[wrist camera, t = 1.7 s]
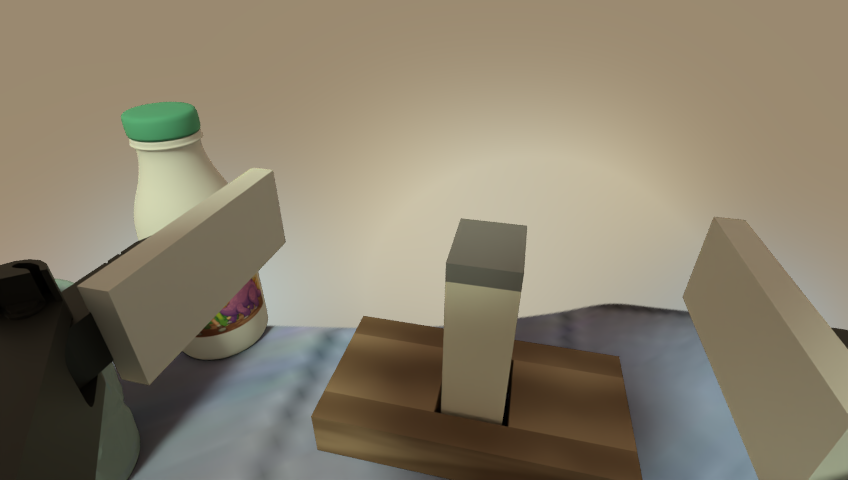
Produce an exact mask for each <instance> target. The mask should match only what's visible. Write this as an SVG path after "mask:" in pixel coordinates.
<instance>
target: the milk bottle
mask: <svg viewBox="0 0 848 480" xmlns="http://www.w3.org/2000/svg"><path fill="white" fill-rule="evenodd" d="M121 120H122V123H123V127H124V130H125V132H126V135H127V136H128V138H129V140H130V146H131V147H133V148H135V149H136V152H137V155H138V161H139V178H138V186H137V192H136V197H135V203H134V222H135V228H136V232H137V237H138V239H139V241H140V240H142V239H144V238H147V237H149V236H152V235H153V234H155V233H156V232H158V231H159V230H161V229H162V228H164V227H165V226H167V225H168V224H169V223H171V222H172V221H174V220H175V219H177V218H178V217H180V216H181V215H183V214H184V213H186V212H187V211H189V210H190V209H192V208H193V207H195V206H196V205H198V204H199V203H201V202H202V201H204V200H205V199H207V198H208V197H209V196H211V195H212V194H214V193H215V192H217V191H218V190H220V189H221V188H223V187H224V186H226V185H227V184H228V183H227V182H226V180H225V179H224V178H223V177H222V176H221V174H220V173H219V172H218V171H217V169H216V168H215V167H214V166H213V164H212V162H211V161H210V159H209V158H208V156H207V154H206V153H205V151H204V149H203V146H202V143H201V138H202V136H203V133H202V132H201V129H200V121H199V117H198V113H197V110H196V109H195V107H194V106H193V105H191V104H188V103H182V102H160V103H152V104H146V105H141V106H137V107H134V108H131V109H129V110H126V111H125V112H124V113H123V114H122V115H121ZM267 322H268V315H267V309H266V305H265V300H264V295H263V291H262V287H261V282H260V278H259V273H258V272H257V273H256V274H255V275H254V276H253V277H252V278H251V279H250V280H249V281H248V282H247V283H246V284H245V285H244V286H243V287H242V289H241V290H240V291H239V292H238V293H237V294H236V295H235V296H234V297H233V298H232V299H231V300H230V301H229V302H228V303H227V304H226V305H225V306H224V307H223V308H222V310H221V311H220V312H219V313H218V314H217V315H216V316H215V317H214V318H213V319H212V320H211V321H210V322H209V323H208V324H207V325H206V326H205V327H204V328H203V329H202V331H201V332H200V333H199V334H198V335H197V336H196V337H195V338H194V339H193V340H192V341H191V342H190V343H189V344H188V345H187V346H186V347H185V348H184V349H183V350H182V351H183V352H184V353H186V354H187V355H189V356H191V357H193V358H197V359H202V360H213V359H221V358H225V357H229V356H232V355H235V354H237V353H239V352H241V351H243V350H245V349H247V348H248V347H250V346H251V345H253V344H254V343H255V342H256V341H257V340H258V339H259V338H260V337H261V335H262V334H263V333H264V330H265V329H266V325H267Z"/></svg>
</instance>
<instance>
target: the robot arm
mask: <svg viewBox="0 0 848 480" xmlns="http://www.w3.org/2000/svg"><path fill="white" fill-rule="evenodd" d="M285 242H286V241H285V236H284V230H283V224H282V219H281V213H280V207H279V201H278V195H277V189H276V184H275V178H274V172H273V170H268V169H258V168H251V169H249V170H248V171H246V172H245V173H244V174H242V175H241V176H239V177H238V178H236V179H235V180H233V181H232V182H230V183H229V184H227V185H226V186H224V187H223V188H221V189H220V190H218V191H217V192H215V193H214V194H212V195H211V196H209V197H208V198H207V199H205V200H204V201H202V202H201V203H199V204H198V205H196V206H195V207H193V208H192V209H190V210H189V211H187V212H186V213H184V214H183V215H181V216H180V217H178V218H177V219H175V220H174V221H172V222H171V223H169V224H168V225H167V226H165V227H164V228H162V229H161V230H159V231H158V232H156V233H155V234H153V235H152V236H149V237H147V238H144V239H142V240H140V241H138V242H136V243H134V244H133V245H131V246H130V247H128V248H127V249H125V250H124V251H122V252H121V254H120V255H119V254H118V255H116V256H115V257H113V258H112V259H110V260H109V261H108V263H104V264H103V265H101V266H100V267H98V268H97V269H95V270H94V271H92V272H91V273H89V274H88V275H86V276H85V277H83V278H82V279H80V280H78V281H77V282H75V283H74V284H72V285H71V286H69V287H68V288H66V289H65V290H63V291H62V292H61V291H60V289H59V287H58V285H57V283H56V281H55V279H54V277H53V275H52V273H51V272H50V269H49V268H48V266H47V264H46V263H44V262H42V261H41V260H31V259H28V260H20V261H14V262H10V263H6V264H3V265H0V480H95V478H96V469H97V460H98V451H99V441H100V432H101V423H102V414H103V405H104V396H105V387H106V382H105V378H104V376H103V374H102V372H101V371H102V370H104V369H105V368H106V367H107V366H108V365H109V364H110V363H111V362H112V361H113V362H114V364H115V366H116V369H117V371H118V373H119V375H120V377H121V379H123V380H127V381H132V382H137V383H141V384H146V385H150V384H151V383H152V382H153V381H154V380H155V379H156V378H157V377H158V376H159V375H160V374H161V372H162V371H163V370H164V369H165V368H166V367H167V366H168V365H169V364H170V363H171V362H172V361H173V360H174V359H175V358H176V357H177V356H178V355H179V354H180V353H181V352H182V350H183V349H184V348H185V347H186V346H187V345H188V344H189V343H190V342H191V341H192V340H193V339H194V338H195V337H196V336H197V335H198V334H199V333H200V332H201V331H202V329H203V328H204V327H205V326H206V325H207V324H208V323H209V322H210V321H211V320H212V319H213V318H214V317H215V316H216V315H217V314H218V313H219V312H220V311H221V310H222V308H223V307H224V306H225V305H226V304H227V303H228V302H229V301H230V300H231V299H232V298H233V297H234V296H235V295H236V294H237V293H238V292H239V291H240V290H241V289H242V287H243V286H244V285H245V284H246V283H247V282H248V281H249V280H250V279H251V278H252V277H253V276H254V275H255V274H256V273H257V272H258V271H259V270H260V269H261V268H262V266H263V265H264V264H265V263H266V262H267V261H268V260H269V259H270V258H271V257H272V256H273V255H274V254H275V253H276V252H277V250H279V249H280V247H281V246H283V244H284V243H285ZM683 299H684V302H685V304H686V306H687V309H688V311H689V314H690V316H691V318H692V321H693V323H694V326H695V328H696V330H697V333H698V335H699V338H700V340H701V342H702V345H703V347H704V349H705V352H706V354H707V357H708V359H709V361H710V364H711V366H712V369H713V371H714V373H715V376H716V378H717V381H718V383H719V385H720V388H721V390H722V393H723V395H724V397H725V400H726V402H727V404H728V407H729V409H730V412H731V414H732V416H733V419H734V421H735V424H736V426H737V428H738V431H739V433H740V436H741V438H742V440H743V443H744V445H745V447H746V450H747V452H748V455H749V457H750V459H751V462H752V464H753V467H754V469H755V471H756V474H757V476H758V479H759V480H848V330H844V329H837V328H830V326H829V325H828V324H827V322H826V321H825V320H824V319H823V317H822V316H821V315H820V314H819V312H818V311H817V310H816V309H815V307H814V306H813V305H812V304H811V302H810V301H809V300H808V299H807V297H806V296H805V295H804V294H803V292H802V291H801V290H800V288H799V287H798V286H797V285H796V284H795V282H794V281H793V280H792V278H791V277H790V276H789V275H788V274H787V272H786V271H785V270H784V268H783V267H782V266H781V265H780V263H779V262H778V261H777V260H776V258H775V257H774V256H773V255H772V253H771V252H770V251H769V250H768V248H767V247H766V246H765V245H764V244H763V242H762V241H761V240H760V238H759V237H758V236H757V235H756V233H755V232H754V231H753V229H752V228H751V227H750V226H749V224H748V223H747V222H746V221H745V220H739V219H730V218H719V217H714V218H713V220H712V223H711V225H710V228H709V231H708V233H707V236H706V238H705V241H704V243H703V246H702V248H701V251H700V254H699V256H698V259H697V261H696V264H695V267H694V269H693V272H692V274H691V277H690V279H689V282H688V285H687V287H686V290H685V292H684V295H683Z"/></svg>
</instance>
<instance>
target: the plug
mask: <svg viewBox="0 0 848 480" xmlns="http://www.w3.org/2000/svg"><path fill="white" fill-rule="evenodd" d="M526 235H527V226H523V225H515V224H506V223H497V222H487V221H479V220H469V219H461V220H460V223H459V226H458V229H457V232H456V235H455V238H454V241H453V244H452V247H451V250H450V253H449V256H448V259H447V262H446V281H445V308H444V337H443V366H442V395H441V414H446V415H451V416H456V417H462V418H467V419H472V420H477V421H482V422H487V423H492V424H497V425H502V421H503V414H504V407H505V400H506V393H507V386H508V379H509V372H510V366H511V359H512V352H513V345H514V338H515V331H516V324H517V317H518V310H519V303H520V296H521V289H522V282H523V276H524V264H525V249H526Z"/></svg>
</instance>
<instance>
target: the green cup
mask: <svg viewBox="0 0 848 480" xmlns="http://www.w3.org/2000/svg"><path fill="white" fill-rule="evenodd" d="M55 281H56V283H57V285H58V287H59V289H60V291H61V292H62V291H63V290H65V289H66V288H68V287H69V286H71V285H72V284H74V283H73V282H70V281H66V280H61V279H55ZM101 372H102V374H103V376H104V378H105V382H106V387H105V396H104V405H103V414H102V423H101V432H100V441H99V451H98V460H97V469H96V478H95V480H127V479H128V478H129V476H130V475H131V473H132V471H133V469H134V467H135V465H136V462H137V459H138V456H139V452H140V435H139V432H138V429H137V426H136V424H135V421H134V418H133V415H132V413H131V411H130V408H129V407H127V406H126V405H125V403H124V402H123V400H124V395H123V393H122V386H121V384H120V382H119V380H118V376H117V373H116V371H115V368H114V366H113V364H112V362H111V363H110V364H109V365H108V366H107V367H106V368H105V369H104V370H102V371H101Z"/></svg>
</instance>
